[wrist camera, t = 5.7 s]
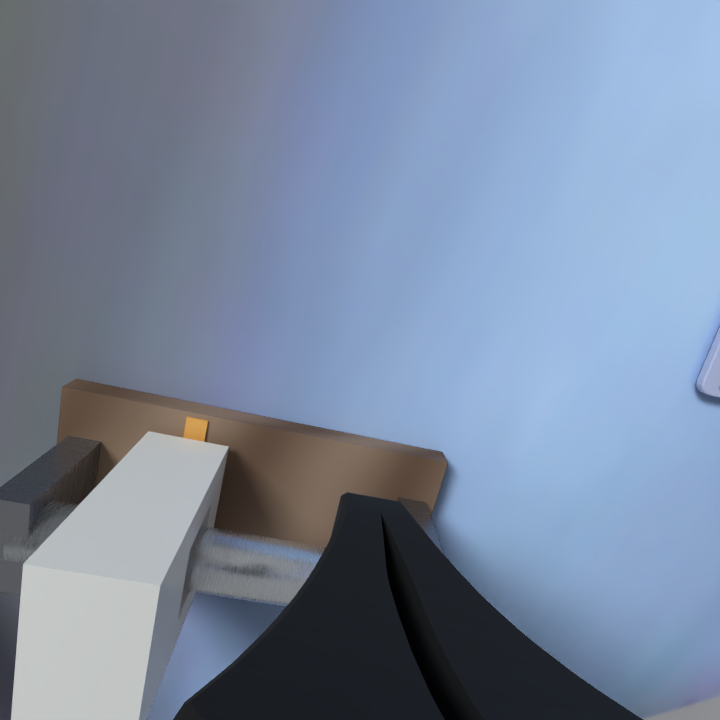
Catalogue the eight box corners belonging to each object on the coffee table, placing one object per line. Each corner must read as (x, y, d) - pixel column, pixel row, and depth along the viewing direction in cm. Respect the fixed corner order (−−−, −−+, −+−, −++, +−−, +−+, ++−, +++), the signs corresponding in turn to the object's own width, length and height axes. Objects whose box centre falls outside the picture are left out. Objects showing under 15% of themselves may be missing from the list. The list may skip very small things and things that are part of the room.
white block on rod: (229, 446, 18) (160, 585, 11) (207, 561, 19) (132, 755, 12) (148, 431, 18) (22, 564, 10) (131, 549, 19) (9, 740, 12)
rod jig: (442, 452, 20) (482, 531, 15) (400, 588, 22) (422, 704, 16) (76, 378, 18) (-31, 437, 13) (61, 532, 20) (-39, 642, 15)
